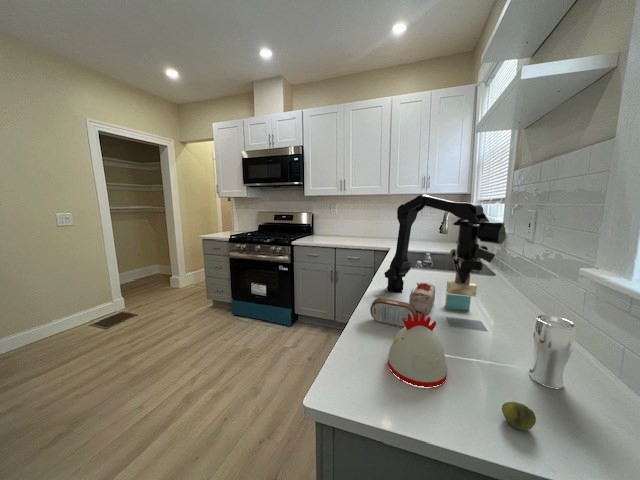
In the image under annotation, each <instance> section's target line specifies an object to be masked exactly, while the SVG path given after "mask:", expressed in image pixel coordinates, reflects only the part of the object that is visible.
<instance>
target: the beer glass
mask: <svg viewBox="0 0 640 480" xmlns="http://www.w3.org/2000/svg"><path fill="white" fill-rule="evenodd" d="M576 330H577V325H576V324H575V323H573V322H572V321H571V320H568V319H566V318H563V317H560V316H557V315H551V314H538V315H536V318H535V321H534V325H533V328H532V334H531V335H532V336H531V341H532V342H531V346H532V347H531V348H532V357H533V358H532V364H531V366H530V367H529V368H530V369H529V371H528V376H529V375H530V376H531V377H532V378H533V379H534V380H536V381H538V382H539V383H541V384H544V385H546V386H549V387H553V388H561V387H563V388H564V371H565V367H566V365H567V363H568V362H569V360H570V357H571V356H572V353H573V350H574V346H575V341H576ZM530 376H529V377H530ZM531 377H530V378H531ZM534 380H533V381H534ZM561 389H562V388H561Z"/></svg>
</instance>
